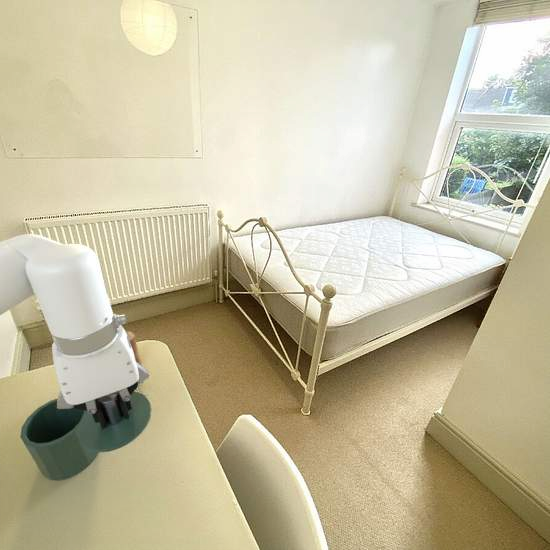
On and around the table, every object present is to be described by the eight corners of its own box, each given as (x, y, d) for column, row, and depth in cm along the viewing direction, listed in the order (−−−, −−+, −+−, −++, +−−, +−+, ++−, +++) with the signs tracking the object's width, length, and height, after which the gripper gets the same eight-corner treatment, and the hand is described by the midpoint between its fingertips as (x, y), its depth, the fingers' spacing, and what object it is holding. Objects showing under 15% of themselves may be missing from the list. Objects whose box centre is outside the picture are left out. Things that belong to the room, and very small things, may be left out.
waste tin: (38, 491, 55) (17, 457, 50) (42, 442, 63) (24, 409, 58) (103, 463, 60) (89, 429, 55) (99, 421, 68) (86, 388, 63)
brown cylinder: (124, 374, 80) (116, 345, 75) (122, 363, 83) (114, 334, 78) (142, 368, 82) (135, 339, 77) (139, 358, 85) (132, 329, 80)
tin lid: (80, 468, 46) (66, 440, 43) (78, 410, 54) (67, 383, 51) (158, 434, 51) (151, 407, 48) (145, 386, 59) (139, 360, 56)
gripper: (143, 303, 49) (160, 383, 58) (17, 333, 42) (59, 420, 51) (152, 329, 44) (169, 413, 53) (9, 370, 36) (57, 460, 45)
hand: (115, 416), depth 52 cm, fingers closed on tin lid, 2 cm apart
